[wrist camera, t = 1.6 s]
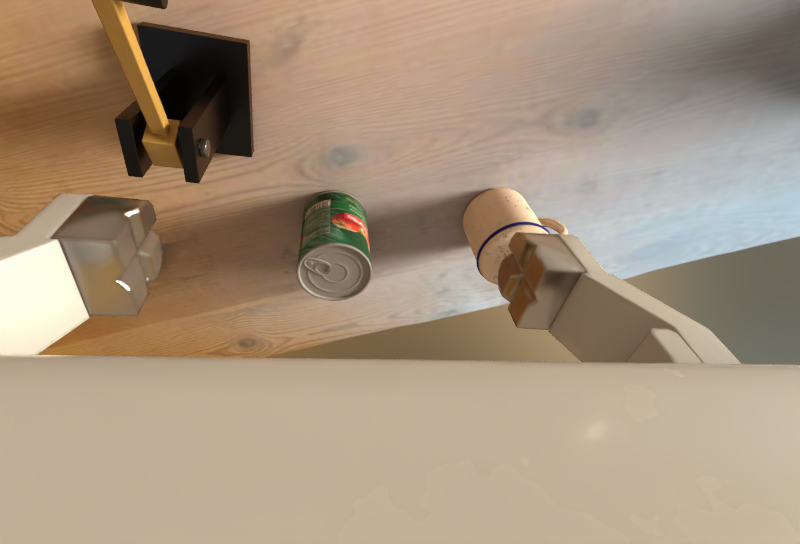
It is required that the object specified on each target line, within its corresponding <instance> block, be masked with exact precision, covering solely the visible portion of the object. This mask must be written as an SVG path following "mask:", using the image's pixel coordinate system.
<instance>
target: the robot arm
mask: <svg viewBox="0 0 800 544" xmlns="http://www.w3.org/2000/svg"><path fill="white" fill-rule="evenodd" d="M155 221H156V215H155V211H154V208H153V205H152V204H151V203H150V202H149V201H148V200H138V199H128V198H119V197H109V196H99V195H91V194H78V193H59V194H58V195H57V196H56V197H55V198H54V199H53V200H52V201H51V202H50V203H49V204H48V205H47V206H46V207H44V208H43V209H42V210H41V211H40V212H39V213H38V214H37V215H36V216H35V217H34V218H33V219H32V220H31V221H30V222H29V223H28V224H27V225H25V226H24V227H23V228H22V229H21V230H20V231H19V232H18V233H17V234H16V235H15V236H14V237H13V236H2V237H0V544H800V365H782V364H741V363H740V362H739V361H738V360H737V359H736V358H735V357H734V356H733V355H732V353H731V352H730V351H729V350H728V349H727V348H726V347H725V346H724V345H723V344H722V343H721V342H720V341H719V340H718V338H717V337H716V336H715V335H714V334H713V333H712V332H711V331H710V330H709V329H707V328H706V327H704V326H702V325H700V324H699V323H697V322H695V321H693V320H692V319H690V318H688V317H686V316H685V315H683V314H681V313H679V312H678V311H676V310H674V309H672V308H671V307H669V306H667V305H665V304H664V303H662V302H660V301H658V300H657V299H655V298H653V297H651V296H650V295H648V294H646V293H644V292H643V291H641V290H639V289H637V288H635V287H634V286H632V285H630V284H628V283H627V282H625V281H623V280H621V279H620V278H618V277H616V276H614V275H610V274H607V273H606V272H605V271H604V269H603V268H602V267H601V266H600V264H599V263H598V262H597V261H596V259H595V258H594V257H593V256H592V255H591V253H590V252H589V251H588V250H587V248H586V247H585V246H584V245H583V243H582V242H581V241H580V240H579V238H578V237H576V236H573V235H562V234H542V233H524V232H516V233H515V234H514V236H513V237H512V238H511V241H510V243H509V245H508V247H509V250H510V252H511V254H510V255H508V256H507V257H506V258H505V259H503V260H502V262H501V265H500V268H499V270H498V287H499V290H500V293H501V295H502V296H503V297H504V298H505V299H507V300H508V301H509V302H510V305H509V307H508V310H509V312H510V314H511V316H512V318H513V321H514V323H515V325H516V327H517V328H525V329H526V328H527V329H543V330H544V329H545V330H549V332H550V333H551V334H552V335H553V336H554V337H555V338H556V339H557V340H558V341H559V342H561V343H562V344H563V345H564V346H565V347H566V348H567V349H568V350H569V351H570V352H572V353H573V354H574V355H575V356H576V357H577V358H578V359H579V360H580V361H581V362H540V361H466V360H383V359H302V358H298V359H297V358H225V357H149V356H72V355H37V354H39V353H40V352H41V351H43V350H44V349H46V348H47V347H49V346H50V345H52V344H53V343H54V342H56V341H57V340H59V339H60V338H62V337H63V336H64V335H66V334H67V333H69V332H70V331H72V330H73V329H74V328H76V327H77V326H79V325H80V324H82V323H83V322H84V321H86V320H87V319H89V316H138V314H139V312H140V310H141V308H142V307H143V305H144V303H145V301H146V299H147V297H148V295H149V291H148V287H147V284H149V283H151V282H153V281H154V280H156V279H157V277H158V275H159V273H160V270H161V265H162V260H163V248H162V242H161V237H160V236H159V235H158V234H157V233H155V232H154V231H153V230H152V229H151V228H152V226H153V225H154V223H155Z"/></svg>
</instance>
